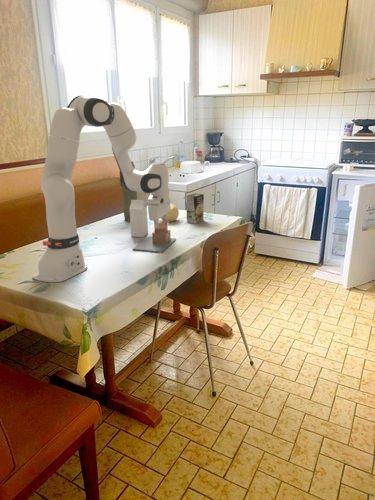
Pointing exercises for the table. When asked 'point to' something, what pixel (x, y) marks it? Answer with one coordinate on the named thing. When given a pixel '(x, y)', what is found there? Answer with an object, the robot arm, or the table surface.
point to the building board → (155, 243)
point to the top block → (161, 227)
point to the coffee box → (195, 208)
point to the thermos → (128, 198)
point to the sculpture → (172, 213)
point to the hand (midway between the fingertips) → (160, 224)
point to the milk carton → (138, 218)
